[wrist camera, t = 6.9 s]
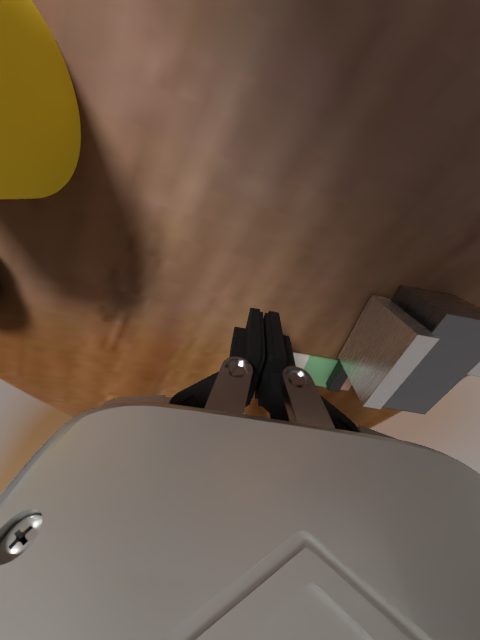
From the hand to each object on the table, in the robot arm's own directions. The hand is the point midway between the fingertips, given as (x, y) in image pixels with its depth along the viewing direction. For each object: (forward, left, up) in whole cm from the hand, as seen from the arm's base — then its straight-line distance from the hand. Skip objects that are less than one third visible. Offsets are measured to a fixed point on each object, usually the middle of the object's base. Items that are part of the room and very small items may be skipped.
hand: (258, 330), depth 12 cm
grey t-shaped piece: (+2, +13, -4) cm, 14 cm away
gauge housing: (+1, +12, -4) cm, 13 cm away
